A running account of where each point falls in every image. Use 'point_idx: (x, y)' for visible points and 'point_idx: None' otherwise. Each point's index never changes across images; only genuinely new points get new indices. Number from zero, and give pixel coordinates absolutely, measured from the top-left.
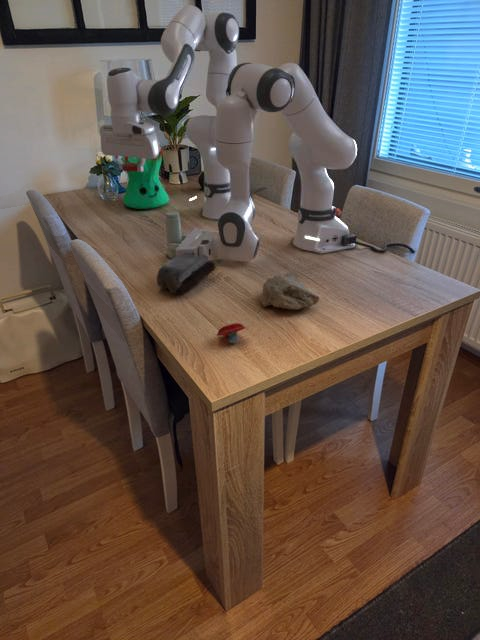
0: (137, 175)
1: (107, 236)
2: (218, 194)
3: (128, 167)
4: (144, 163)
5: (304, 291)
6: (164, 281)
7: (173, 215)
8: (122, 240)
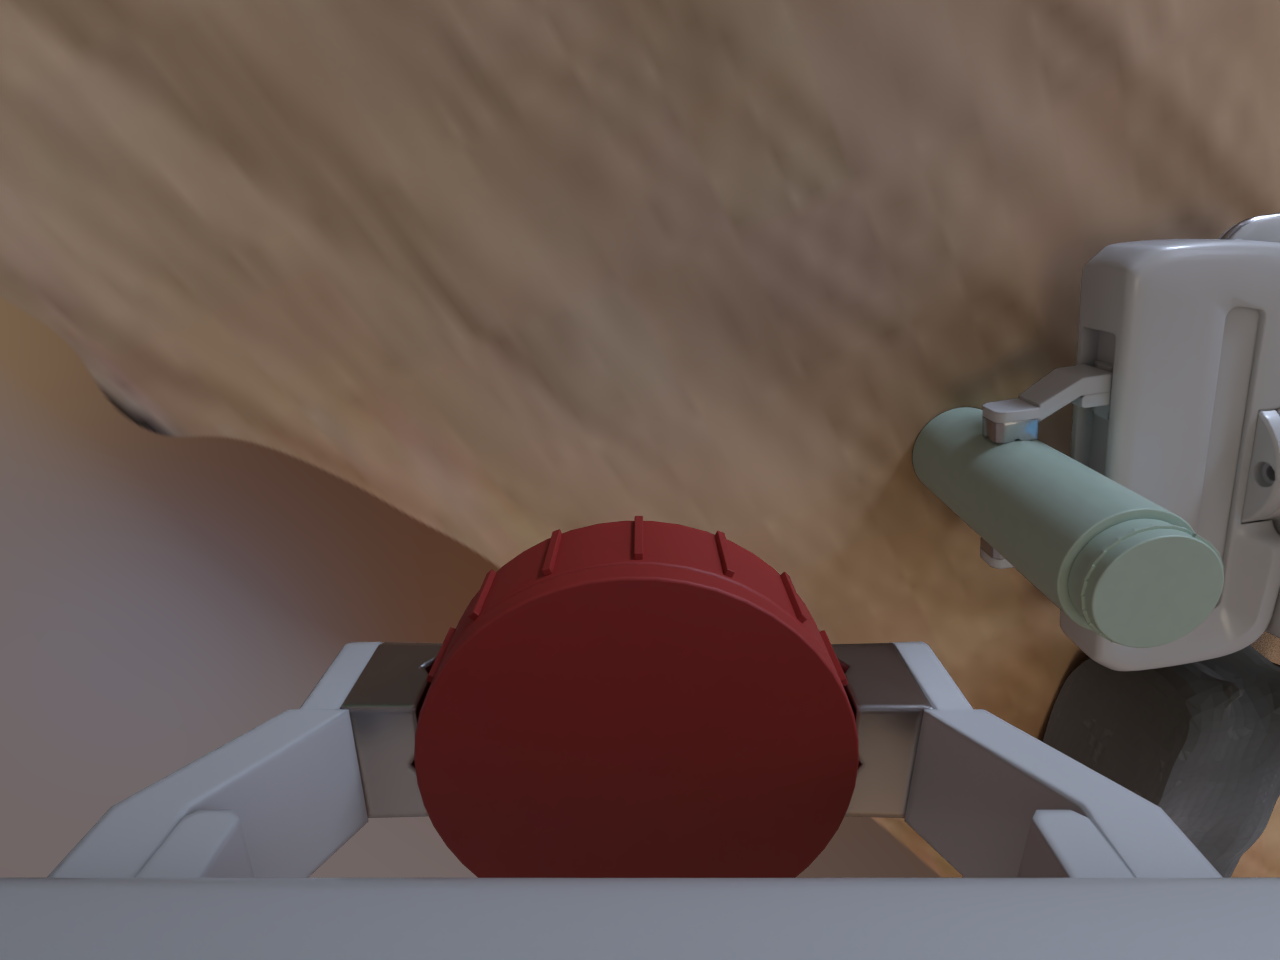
0: None
1: (321, 321)
2: None
3: None
4: (1047, 747)
5: None
6: None
7: (1180, 633)
8: (476, 348)
